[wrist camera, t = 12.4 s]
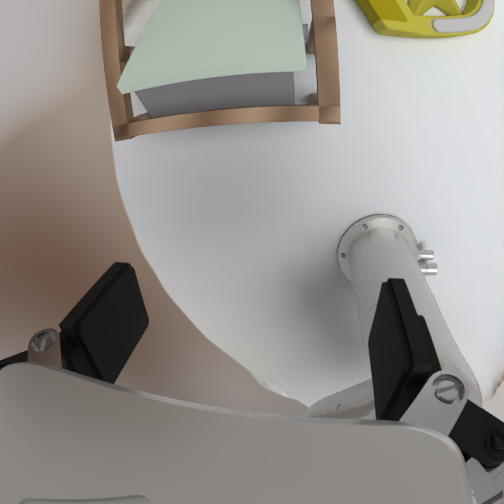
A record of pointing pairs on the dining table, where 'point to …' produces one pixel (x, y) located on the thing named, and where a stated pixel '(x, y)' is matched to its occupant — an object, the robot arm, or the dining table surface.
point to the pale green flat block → (217, 55)
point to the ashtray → (426, 17)
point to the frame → (320, 110)
